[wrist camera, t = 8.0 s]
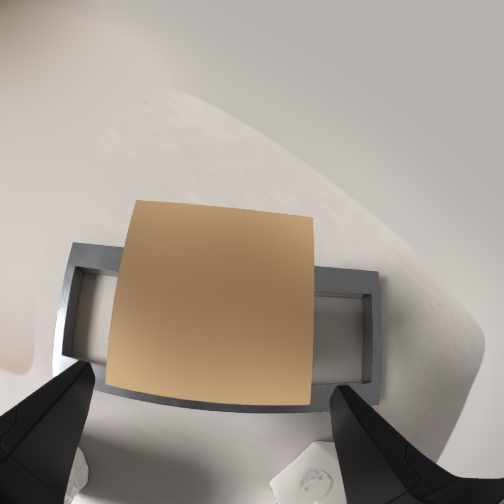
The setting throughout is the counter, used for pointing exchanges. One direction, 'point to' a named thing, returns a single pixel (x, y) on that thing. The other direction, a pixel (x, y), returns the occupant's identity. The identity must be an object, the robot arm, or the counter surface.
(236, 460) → the counter surface
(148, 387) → the oak block
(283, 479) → the jar
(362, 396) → the rail plate
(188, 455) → the counter surface
